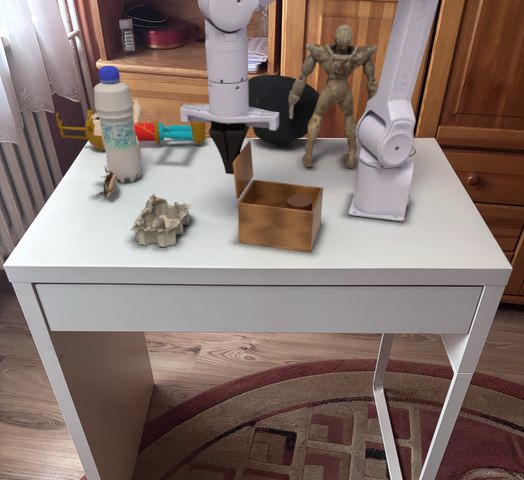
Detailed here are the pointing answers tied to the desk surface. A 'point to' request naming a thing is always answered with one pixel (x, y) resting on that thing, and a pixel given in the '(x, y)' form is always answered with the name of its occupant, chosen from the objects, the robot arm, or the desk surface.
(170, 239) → the egg carton
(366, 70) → the figurine
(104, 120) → the bottle
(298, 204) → the brown cylinder
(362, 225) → the desk surface
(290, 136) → the bowl
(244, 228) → the brown box
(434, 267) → the desk surface
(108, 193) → the insect
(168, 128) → the toy
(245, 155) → the flap
